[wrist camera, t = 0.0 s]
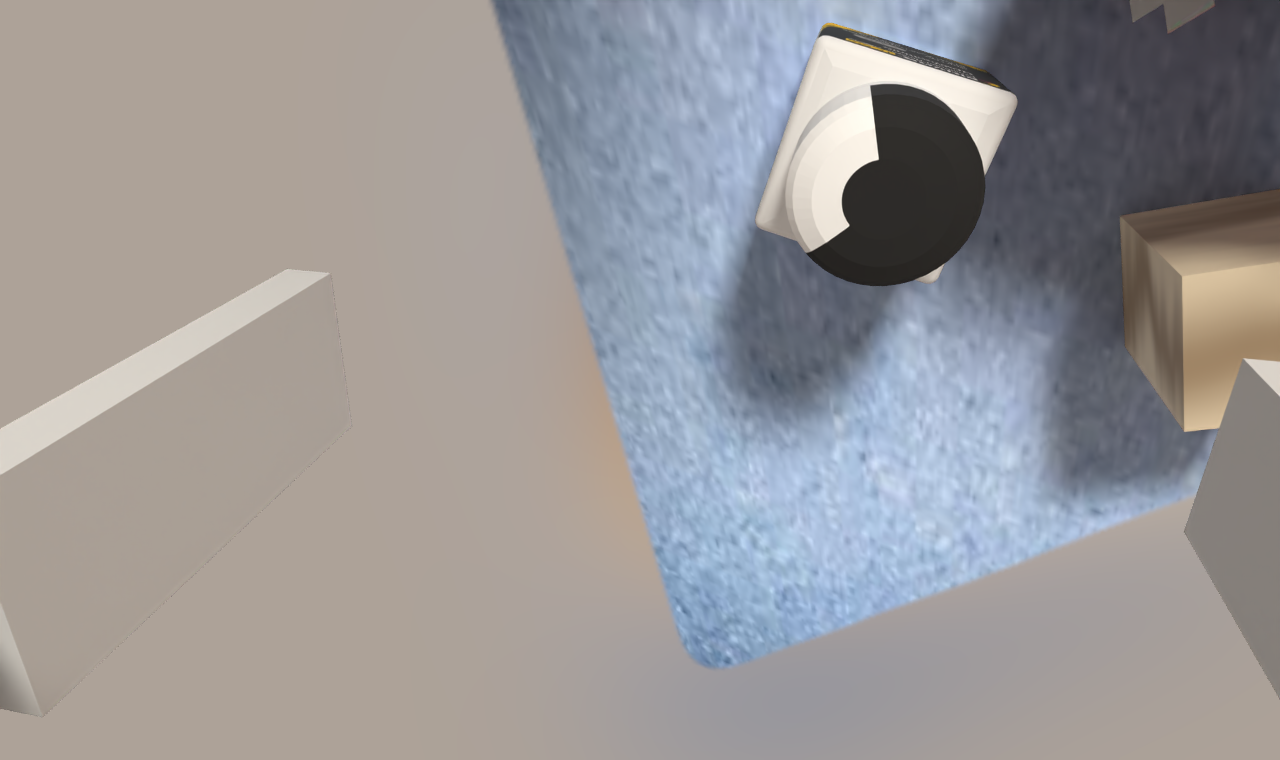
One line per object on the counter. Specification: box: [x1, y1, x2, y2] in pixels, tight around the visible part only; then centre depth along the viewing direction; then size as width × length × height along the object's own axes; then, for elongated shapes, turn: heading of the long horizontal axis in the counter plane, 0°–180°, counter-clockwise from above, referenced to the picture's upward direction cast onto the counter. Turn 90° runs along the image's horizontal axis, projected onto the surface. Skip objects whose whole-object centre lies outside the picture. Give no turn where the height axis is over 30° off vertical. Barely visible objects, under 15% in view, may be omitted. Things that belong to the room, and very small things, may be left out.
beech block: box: [1120, 189, 1280, 432], centre depth 34 cm, size 6×6×8 cm
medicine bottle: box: [755, 23, 1018, 286], centre depth 33 cm, size 7×7×12 cm
